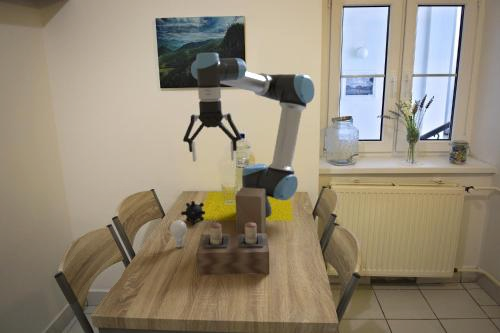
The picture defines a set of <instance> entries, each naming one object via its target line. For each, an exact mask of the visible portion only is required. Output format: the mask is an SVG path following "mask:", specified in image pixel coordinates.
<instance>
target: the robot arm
mask: <svg viewBox="0 0 500 333" xmlns="http://www.w3.org/2000/svg"><path fill="white" fill-rule="evenodd" d="M195 58H196V59H195V60H194V61H193V62H192V63H191V67H190V72H191V75H192V77H193V78H194V79H196V80H197V90H198V91H197V92H198V99H199V100H200V101H199V102H198V105H199V106H198V107H199V114H198V115H197V114H191V115H190V122H189V124H188V127H187V129H186V132H185V133H184V136H183V139H182V141H183V142H184V143H188V150H189V153H192V162H195V163H196V161H197V151H196V149H197V148H196V142H195V141H194V140H195V139H196V138H197V137H198V135H199V133H200V132H201V131H202V130H203V128H204V127H206V128H207V129H208V128H217V127H218V128H219V129H221V131H223V133H224V134H225V135H226V136H227V137H228V138H229V139H230V158H231V159H230V160H231V162H232V161H233V162H234V160H235V152H236V151H237V150H238V149H237V148H238V145H237V143H238V141H241V139H242V135H241V133H240V131H239V129H238V128H237V126H236V124H235V123H234V120H233V119H232V114H231V113H229V112H228V113H225V114H224V113H223V112H222V100H220V99H221V98H222V95H221V94H222V92H221V85H225V86H230V87H233V88H237V89H242V90H245V91H250V92H253V93H254V94H255V95H257V96H260V97H264V98H267V99H269V100H274V101H277V102H279V103H278V105H279V106H280V107H281V112H280V118H279V121H278V122H279V124H278V129H277V136H276V139H275V145H274V152H273V157H272V163H270V164H269V165H268V164H266V163H255V164H249V165H245V166H244V167H243V168H242V175H241V181H242V188H260V189H265V202H266V218H267V217H269V216H271V215H272V210H273V209H272V206H271V202H270V200H269V198H273V199H275V200H280V201H287V200H290V199H291V198H293V196H294V195H295V193H296V191H297V189H298V185H299V180H298V177H297V176H296V175H295V172H296V171H295V169H294V168H293V161H294V155H295V150H296V145H297V140H298V133H299V127H300V122H301V118H302V112H303V111H304V110H306V108H307V104H309V103H311V102H312V100H313V99H314V96H315V85H314V83H313V80H312V78H311V77H310V76H309V75H307V74H300V73H296V74H294V73H293V74H292V73H291V74H279V73H278V74H266V73H262V72H261V73H255V72H252V71H249V70H247V65H246V64H247V63H246V62H245V60H243V59H241V58H240V57H238V58H237V57H229V58H220V57H219V53H218V52H200V53H197V54H196V56H195ZM223 119H225V121H227V122H228V125H229V126H230V128H231V130H232V131H233V133H234V134H233V133H232V132H231V131H230V130H229V129H228V128H227V126H226V125H225V124H224V123H223V122H222V120H223ZM198 120H199V121H200V122H201V124H200V125H199V126H198V128H197V129H196V130H195V132H193V134H192V136H191V137H190V134H191V132H192V130H193V127H194V125H195V122H197V121H198Z"/></svg>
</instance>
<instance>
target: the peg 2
mask: <svg viewBox="0 0 500 333" xmlns="http://www.w3.org/2000/svg"><path fill="white" fill-rule="evenodd" d="M245 244H257V227H256V223H252V222H249V223H246V224H245Z"/></svg>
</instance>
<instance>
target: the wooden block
mask: <svg viewBox="0 0 500 333" xmlns="http://www.w3.org/2000/svg"><path fill="white" fill-rule="evenodd" d="M266 218H267V217H266V202H265V189H260V188H243V187H240V189H239V191H238V192H237V194H236V195H235V226H236V227H235V228H236V230H235V231H236V234H245V224H246V223H249V222H252V223H256V227H257V233H267V231H266V230H267V229H266V228H267V227H266V224H267V223H266V220H267V219H266Z"/></svg>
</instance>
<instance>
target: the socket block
mask: <svg viewBox="0 0 500 333" xmlns="http://www.w3.org/2000/svg"><path fill="white" fill-rule="evenodd" d="M195 255H196V273H197V275H198V276H204V275H205V276H207V275H208V276H209V275H211V276H213V275H216V276H217V275H257V274H258V275H259V274H260V275H261V274H263V275H265V274H270V247H269V237H268V233H267V232H266V233H257V244H245V234H237V233H222V245H210V233H209V234H208V233H207V234H201V235H200V238H199V242H198V245H197V249H196V252H195Z"/></svg>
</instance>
